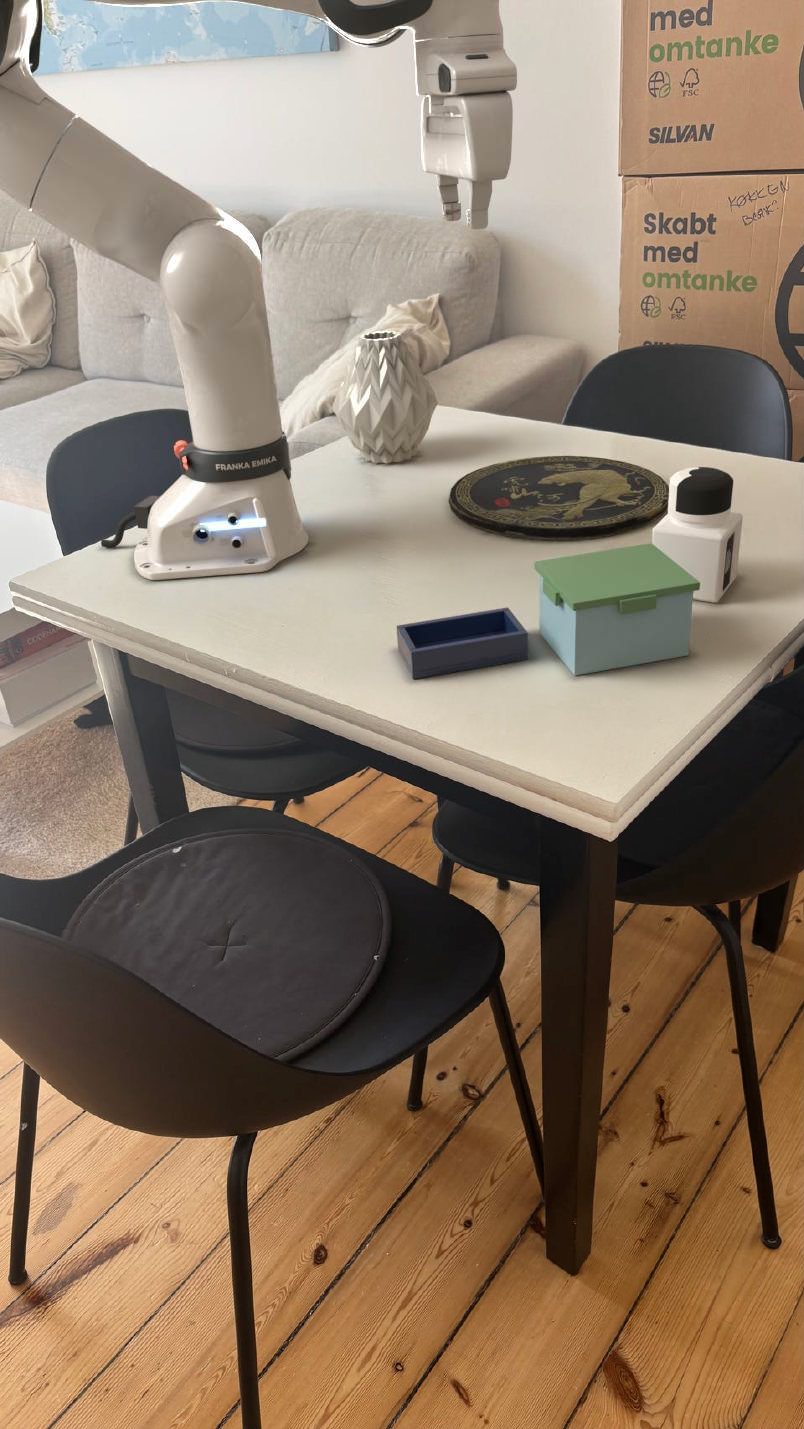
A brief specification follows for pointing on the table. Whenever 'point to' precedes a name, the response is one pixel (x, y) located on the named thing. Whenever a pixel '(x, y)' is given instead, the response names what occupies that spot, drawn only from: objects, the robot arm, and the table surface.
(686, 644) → the box
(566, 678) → the table surface
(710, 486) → the container
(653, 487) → the decorative plate
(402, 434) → the vase
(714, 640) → the table surface
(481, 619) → the low blue storage tray
